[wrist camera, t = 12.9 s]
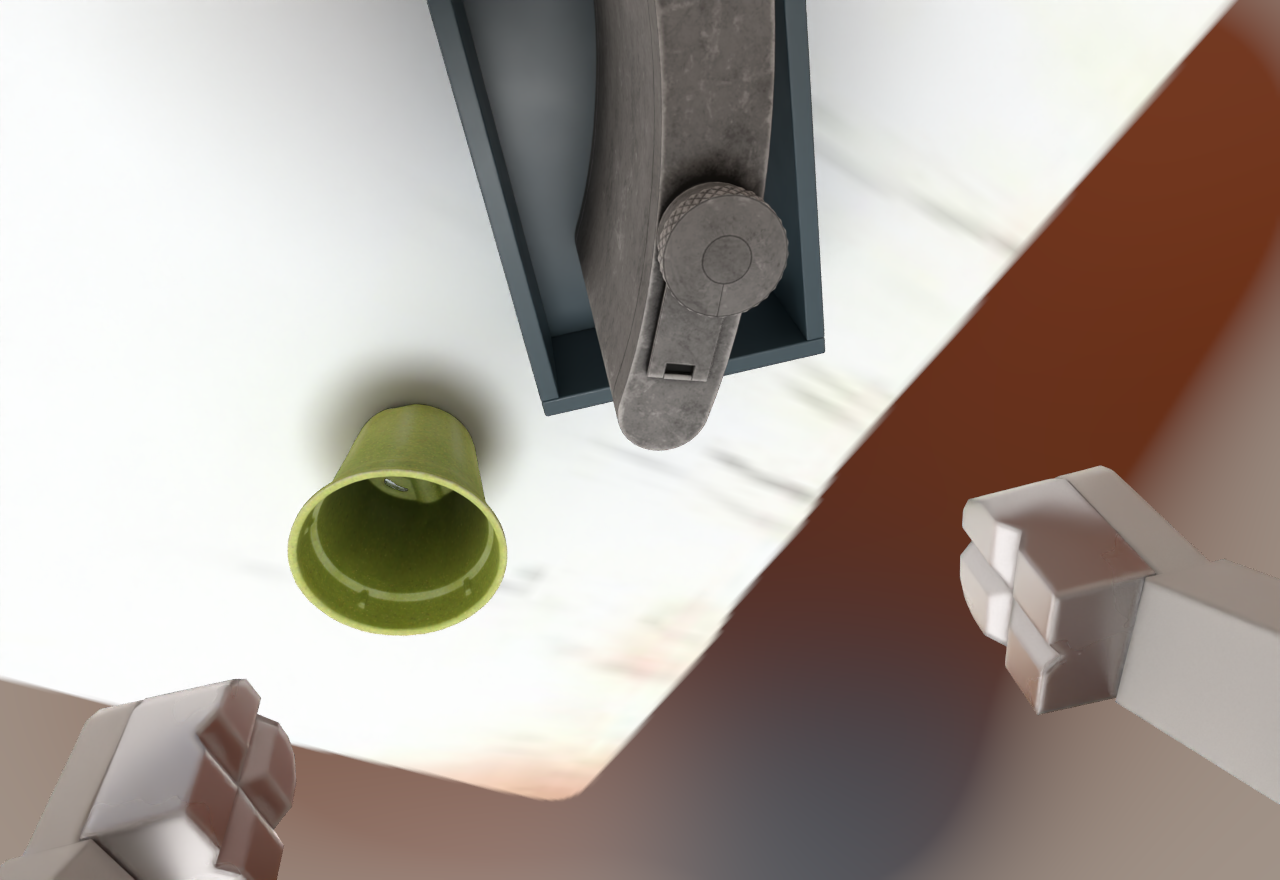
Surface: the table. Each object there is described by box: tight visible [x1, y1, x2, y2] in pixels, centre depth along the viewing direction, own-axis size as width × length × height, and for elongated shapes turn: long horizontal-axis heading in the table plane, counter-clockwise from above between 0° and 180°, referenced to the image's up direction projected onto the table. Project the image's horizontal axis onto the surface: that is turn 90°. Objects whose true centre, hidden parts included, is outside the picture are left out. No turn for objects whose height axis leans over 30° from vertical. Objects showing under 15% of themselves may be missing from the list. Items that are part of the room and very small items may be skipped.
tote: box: [427, 0, 825, 416], centre depth 33 cm, size 22×13×7 cm, turn 10°
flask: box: [574, 0, 789, 451], centre depth 28 cm, size 4×14×18 cm, turn 175°
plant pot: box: [288, 404, 507, 636], centre depth 40 cm, size 9×9×9 cm
